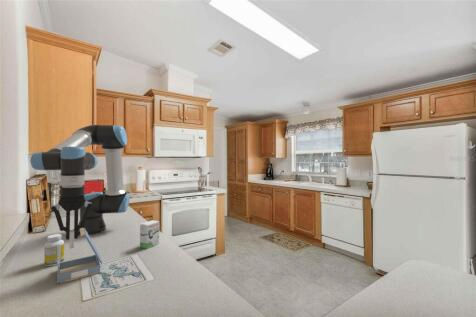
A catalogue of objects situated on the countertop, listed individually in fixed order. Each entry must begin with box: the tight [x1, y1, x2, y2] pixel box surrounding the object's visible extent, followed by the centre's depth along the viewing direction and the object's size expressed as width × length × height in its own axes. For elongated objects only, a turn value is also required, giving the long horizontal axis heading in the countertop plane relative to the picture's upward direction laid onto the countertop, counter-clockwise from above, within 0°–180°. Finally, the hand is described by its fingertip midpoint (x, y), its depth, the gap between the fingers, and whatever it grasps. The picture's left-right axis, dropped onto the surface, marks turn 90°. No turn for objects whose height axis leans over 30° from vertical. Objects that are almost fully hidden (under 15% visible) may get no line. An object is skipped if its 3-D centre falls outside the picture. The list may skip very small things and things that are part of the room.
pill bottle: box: [44, 233, 65, 267], centre depth 95 cm, size 6×6×12 cm
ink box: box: [139, 219, 160, 249], centre depth 115 cm, size 9×5×12 cm, turn 155°
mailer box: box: [56, 254, 101, 285], centre depth 88 cm, size 12×13×3 cm
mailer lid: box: [80, 228, 103, 265], centre depth 90 cm, size 12×14×2 cm
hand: (71, 247), depth 87 cm, fingers closed
